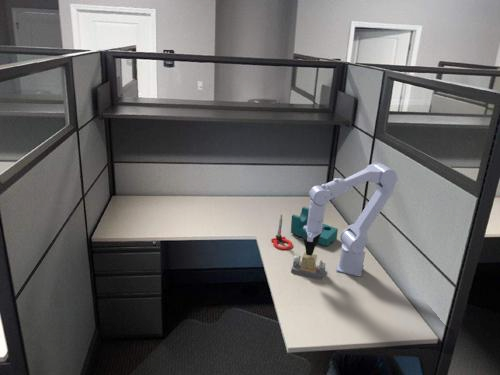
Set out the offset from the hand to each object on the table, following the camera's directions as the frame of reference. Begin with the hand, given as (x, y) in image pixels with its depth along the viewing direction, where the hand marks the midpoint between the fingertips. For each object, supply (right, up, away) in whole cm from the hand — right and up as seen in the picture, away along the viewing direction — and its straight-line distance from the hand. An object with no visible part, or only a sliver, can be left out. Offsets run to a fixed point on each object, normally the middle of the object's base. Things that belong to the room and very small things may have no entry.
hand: (311, 250), depth 155 cm
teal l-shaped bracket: (+6, +1, +31) cm, 32 cm away
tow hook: (-9, -1, +22) cm, 24 cm away
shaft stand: (-1, -9, +3) cm, 9 cm away
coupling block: (-1, -7, +3) cm, 8 cm away
